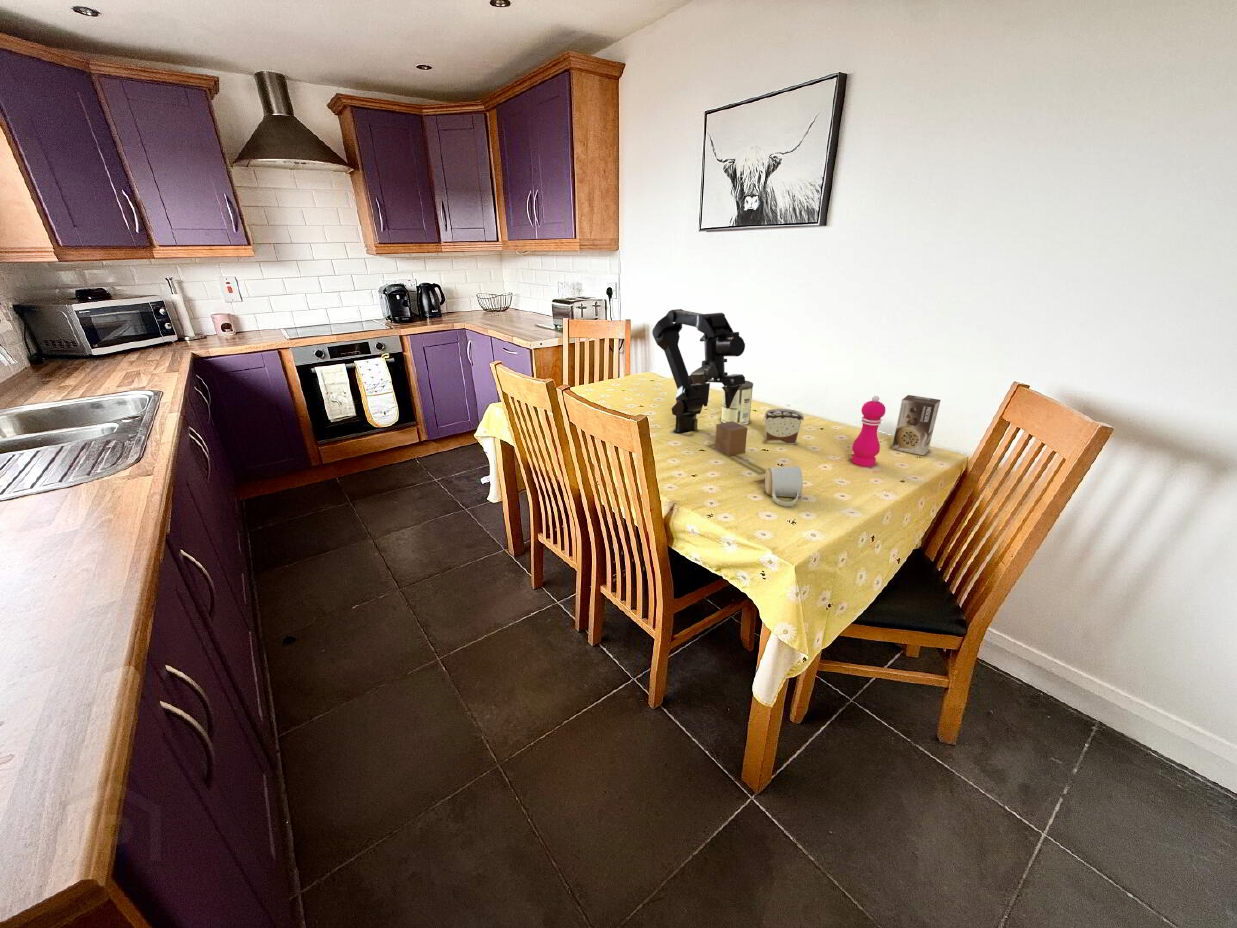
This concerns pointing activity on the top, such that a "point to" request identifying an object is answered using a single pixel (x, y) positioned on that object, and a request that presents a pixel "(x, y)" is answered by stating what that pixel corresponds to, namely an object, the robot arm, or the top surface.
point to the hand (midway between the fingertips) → (716, 407)
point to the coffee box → (915, 424)
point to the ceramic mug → (784, 483)
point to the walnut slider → (730, 438)
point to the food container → (783, 425)
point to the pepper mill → (868, 434)
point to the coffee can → (739, 405)
